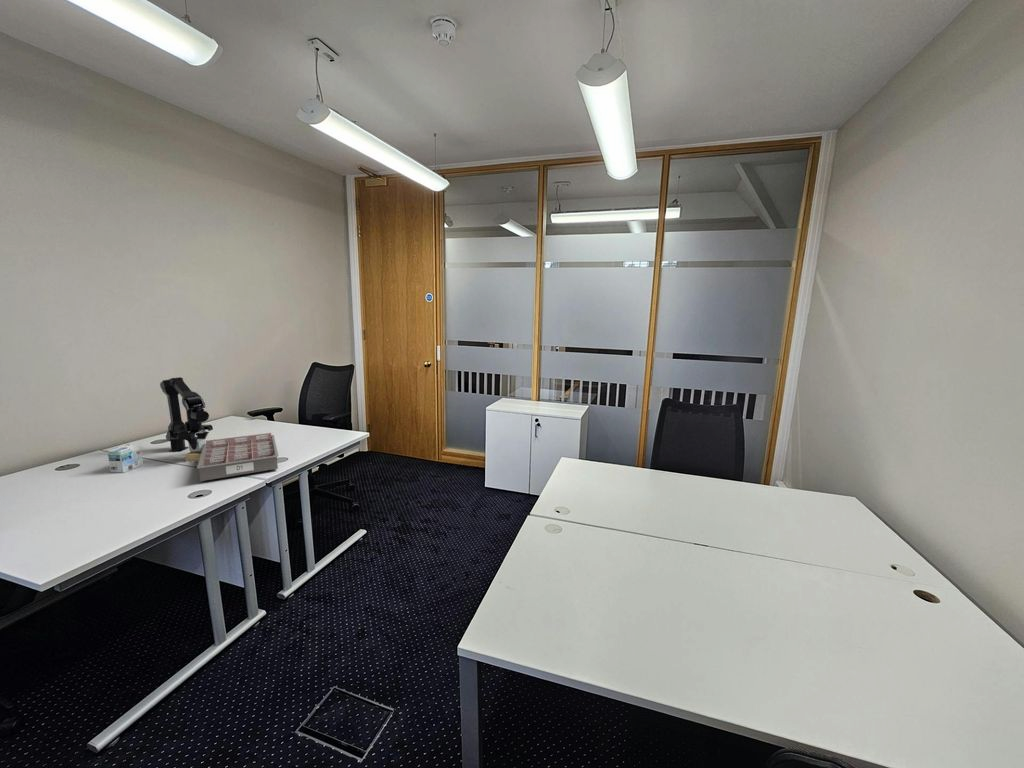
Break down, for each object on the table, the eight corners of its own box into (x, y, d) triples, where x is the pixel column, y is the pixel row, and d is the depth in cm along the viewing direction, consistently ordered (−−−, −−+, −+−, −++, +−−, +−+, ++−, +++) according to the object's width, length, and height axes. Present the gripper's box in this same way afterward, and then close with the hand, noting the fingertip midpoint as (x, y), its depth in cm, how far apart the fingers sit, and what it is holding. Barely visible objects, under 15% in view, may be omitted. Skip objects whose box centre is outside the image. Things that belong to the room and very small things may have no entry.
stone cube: (196, 448, 218) (194, 439, 218) (206, 448, 219) (204, 439, 218) (189, 451, 214) (188, 442, 213) (199, 451, 214) (198, 442, 213)
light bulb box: (123, 473, 197) (120, 451, 195) (109, 472, 197) (106, 451, 195) (143, 464, 207) (140, 444, 206) (130, 464, 208) (127, 444, 206)
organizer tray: (198, 485, 185) (195, 464, 184) (205, 458, 218) (203, 440, 217) (279, 471, 202) (278, 452, 201) (275, 448, 236) (273, 431, 234)
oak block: (194, 457, 220) (194, 449, 220) (211, 456, 222) (210, 449, 221) (185, 462, 213) (185, 454, 212) (203, 461, 214) (202, 454, 213)
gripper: (190, 414, 222) (193, 442, 224) (164, 423, 203) (168, 454, 206) (211, 414, 223) (214, 442, 225) (188, 423, 204) (191, 453, 207)
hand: (197, 447), depth 216 cm, fingers closed on stone cube, 5 cm apart
